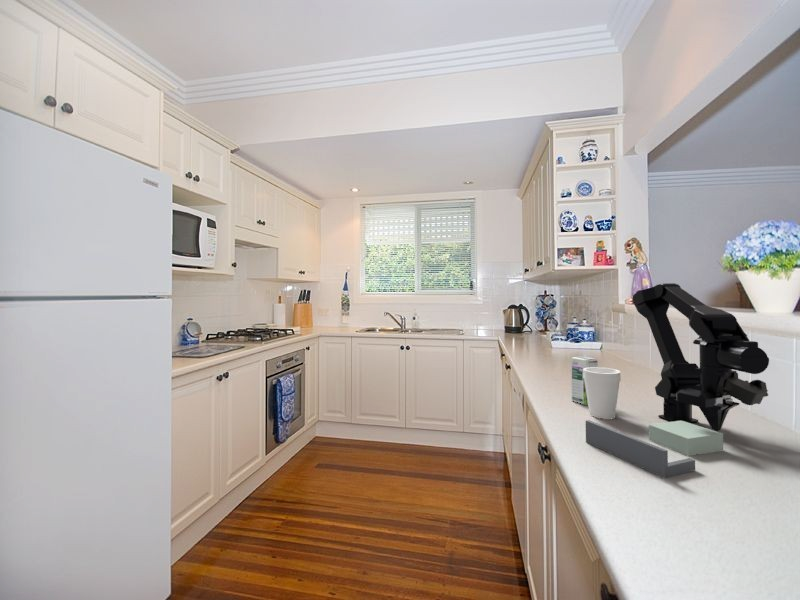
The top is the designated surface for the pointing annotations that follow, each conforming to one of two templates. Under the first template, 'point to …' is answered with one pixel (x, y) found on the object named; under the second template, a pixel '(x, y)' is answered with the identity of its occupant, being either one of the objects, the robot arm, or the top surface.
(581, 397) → the syrup box
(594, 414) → the foam cup
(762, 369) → the robot arm
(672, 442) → the carton
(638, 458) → the stand
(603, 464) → the top surface
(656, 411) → the top surface
